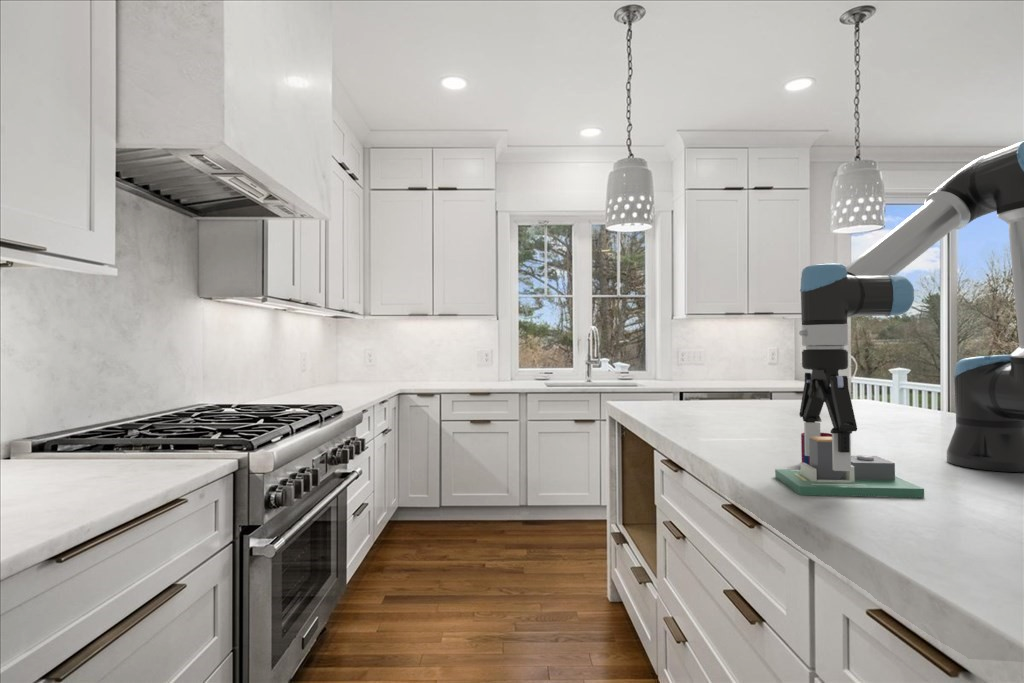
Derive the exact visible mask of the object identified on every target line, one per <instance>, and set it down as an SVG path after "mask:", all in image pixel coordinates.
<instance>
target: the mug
mask: <svg viewBox="0 0 1024 683" xmlns="http://www.w3.org/2000/svg"><path fill="white" fill-rule="evenodd" d="M800 437H801V438H800V440H801V441H800V443H801V445H800V446H801V451H800V452H801V463H806V464H808V465H810V456H805V440H804V432H802V433H801V434H800ZM820 437H832V433H831V432H830V433H828V432H820Z"/></svg>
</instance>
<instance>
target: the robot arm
mask: <svg viewBox="0 0 1024 683" xmlns="http://www.w3.org/2000/svg"><path fill="white" fill-rule="evenodd" d="M923 202H924V205H922V206H921V207H920V208H918V209H917V210H916V211H915V212H913V213H912V214H911V215H910V216H908V217H907V218H906V219H904V220H903V221H902V222H901V223H900V224H898V225H897V226H896V227H895V228H893V229H892V230H891V231H890V232H889V233H887V234H886V235H885V236H883V238H880V239H879V241H877V242H875V243H874V244H873V245H872V246H871V247H870V248H868V249H867V250H866V251H865V252H864V253H862V254H861V255H859V256H858V257H857V258H856V259H855V260H853V261H852V262H851V263H850V264H848V265H845V264H843V263H818V264H812V265H808V266H806V267H804V268H803V269H802V271H801V278H800V290H799V292H800V308H801V309H800V310H801V311H800V312H801V313H800V314H801V330H799V332H798V334H799V335H800V336H801V345H802V346H803V347H805V349H803V350H802V351H801V367H802V368H803V370H812V371H811V372H805V373H804V385H803V392H802V397H801V402H800V408H799V414H798V415H799V417H800V418H802V421H803V425H804V426H803V427H804V428H803V431H804V432H803V433H804V440H805V456H810V449H809V438H811V436H818V437H820V433H821V422H823V421H822V419H821V416H820V415H821V412H822V410H823V406H824V403H825V405H826V409H827V411H828V414H829V417H830V420H831V424H832V426H833V427H832V428H831V430H830V434H832V462H833V470H834V471H851V456H852V451H851V444H852V442H851V441H852V440H851V434H852V433H853V432H857V430H858V425H857V421H856V420H857V419H856V417H855V413H854V408H853V403H852V399H851V395H850V390H849V380H848V379H849V378H848V376H847V375H839V371H840V370H842V371H844V370H846V369H848V367H849V352H848V351H849V350H847V349H845V347H847V346H848V345H849V326H848V318H859V317H860V318H862V317H878V316H884V317H891V316H901V315H903V314H906V313H907V312H908V311H909V310H910V309H911V308H912V306H913V304H914V301H915V300H914V299H915V289H914V285H913V283H912V282H911V280H910V279H909V278H908V277H905V276H903V275H898V274H899V273H900V272H901V271H903V270H904V269H905V268H906V267H907V266H909V265H910V264H912V262H914V261H916V260H917V259H918V258H919V257H920V256H922V255H923V254H924V253H925V252H926V251H927V250H929V249H930V248H932V247H933V246H934V245H935V244H937V243H939V241H940V240H941V239H944V237H945V236H947V234H949V233H950V232H951V231H953V230H960V229H963V228H965V227H966V226H967V225H968V224H970V223H971V222H973V221H974V220H976V219H979V218H981V217H983V216H985V215H988V214H991V213H994V212H996V216H997V218H999V219H1000V220H1002V221H1004V222H1005V223H1007V225H1008V237H1009V248H1010V260H1011V270H1012V282H1013V290H1014V302H1015V313H1016V323H1017V335H1018V346H1017V348H1016V349H1015V350H1014V351H1013V352H1012V351H1011V353H1010V354H997V355H996V354H995V355H982V356H972V357H967V358H962V359H960V360H958V361H957V362H956V363H955V370H954V372H955V373H954V376H953V378H954V400H955V404H954V405H955V428H954V431H953V434H952V436H951V439H950V441H949V444H948V446H947V449H946V462H948V463H949V464H952V465H956V466H959V467H963V468H968V469H969V468H970V469H976V470H985V471H995V472H1005V473H1006V472H1008V473H1009V472H1010V473H1024V140H1022V141H1020V142H1017V143H1014V144H1011V145H1009V146H1007V147H1004V148H1002V149H1001V148H1000V149H999V150H997V151H993V152H990V153H987V154H985V155H982V156H980V157H978V158H976V159H974V160H972V161H971V162H969V163H968V164H966V165H965V166H963V167H962V168H961V169H959V170H957V172H956V173H954V174H952V175H951V176H950V177H949V178H948V179H946V180H945V181H943V183H942V184H940V185H939V186H938V187H936V189H934V190H933V191H932V192H931V193H929V194H928V195H927V196H926V197H925V199H924V201H923Z"/></svg>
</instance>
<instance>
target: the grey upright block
mask: <svg viewBox="0 0 1024 683" xmlns="http://www.w3.org/2000/svg"><path fill="white" fill-rule="evenodd" d="M809 449H810V466H811V467H813V468H815V469H816V471H817V480H841V476H842V471H834V470H833V462H832V437H818V436H811V438H809Z"/></svg>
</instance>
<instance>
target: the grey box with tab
mask: <svg viewBox="0 0 1024 683" xmlns="http://www.w3.org/2000/svg"><path fill="white" fill-rule="evenodd" d="M851 465H852V466H854V477H855V479H876V480H895V476H896V464H895V462H893V461H890V460H888V459H885V458H882V457H881V456H877V455H863V454H858V455H851Z"/></svg>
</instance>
